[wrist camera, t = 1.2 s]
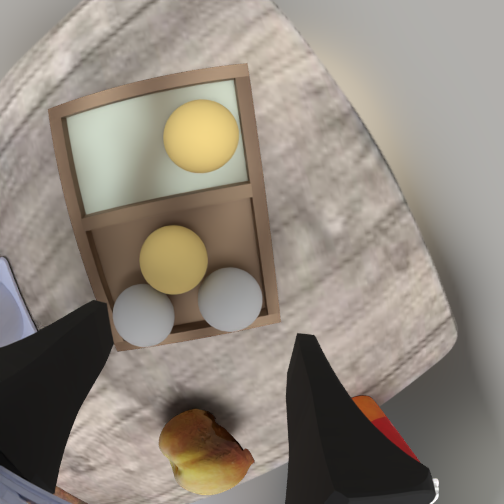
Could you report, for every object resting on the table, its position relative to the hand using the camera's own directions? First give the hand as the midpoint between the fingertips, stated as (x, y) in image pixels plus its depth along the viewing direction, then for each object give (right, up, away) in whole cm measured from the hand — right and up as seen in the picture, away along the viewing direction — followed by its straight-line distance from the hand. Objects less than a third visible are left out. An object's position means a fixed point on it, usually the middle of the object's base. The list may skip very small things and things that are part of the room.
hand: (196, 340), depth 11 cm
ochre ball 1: (-1, +10, +7) cm, 12 cm away
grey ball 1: (-5, 0, +10) cm, 11 cm away
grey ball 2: (0, +1, +10) cm, 11 cm away
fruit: (-3, -12, +16) cm, 20 cm away
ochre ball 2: (-3, +4, +9) cm, 10 cm away
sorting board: (-3, +6, +9) cm, 11 cm away
